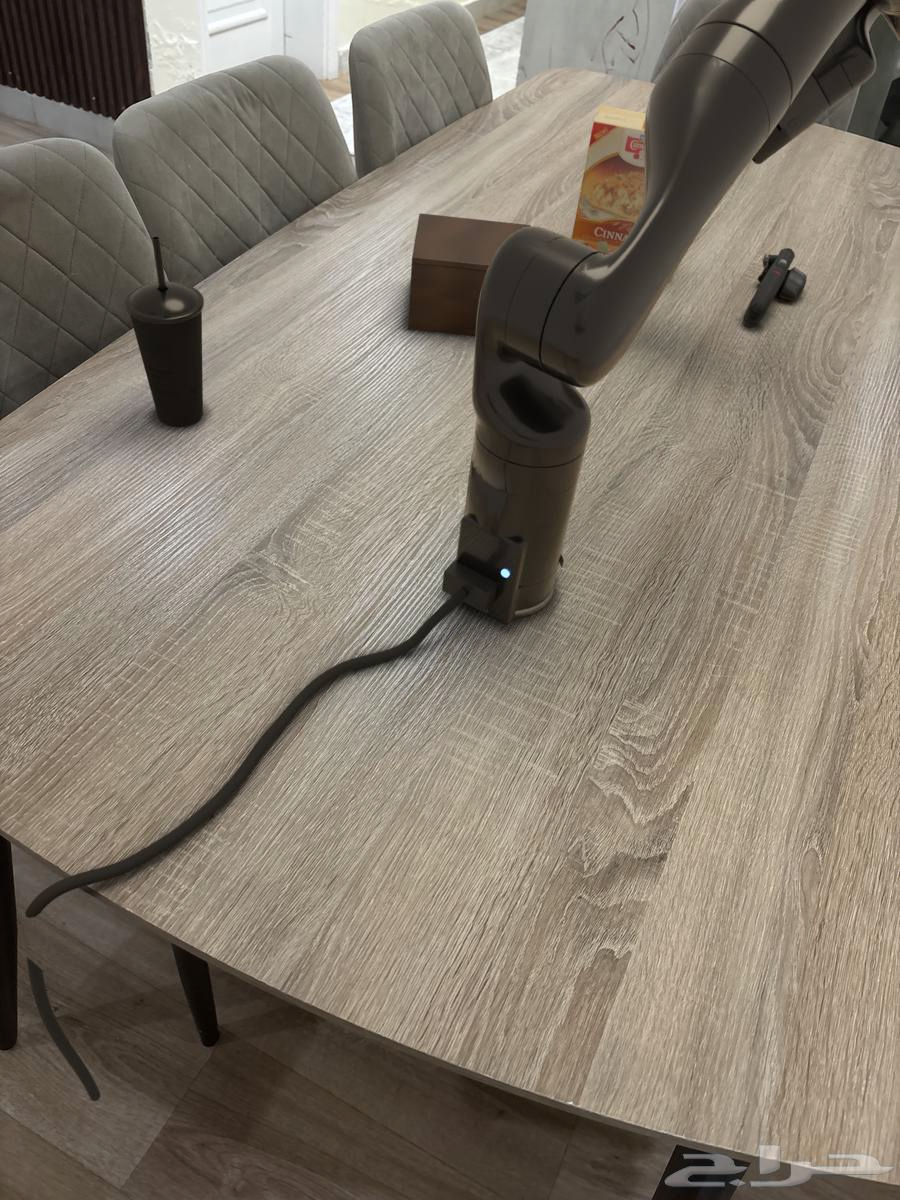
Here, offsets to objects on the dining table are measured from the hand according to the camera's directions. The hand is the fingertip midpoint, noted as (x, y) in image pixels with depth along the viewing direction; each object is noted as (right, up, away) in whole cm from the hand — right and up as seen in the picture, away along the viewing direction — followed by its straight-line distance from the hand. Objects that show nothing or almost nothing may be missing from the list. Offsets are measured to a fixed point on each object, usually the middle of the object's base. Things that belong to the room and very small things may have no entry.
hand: (647, 210), depth 115 cm
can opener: (+21, -6, +19) cm, 29 cm away
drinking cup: (-54, -27, -11) cm, 61 cm away
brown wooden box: (-22, -9, +10) cm, 26 cm away
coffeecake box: (+1, +2, +24) cm, 25 cm away
